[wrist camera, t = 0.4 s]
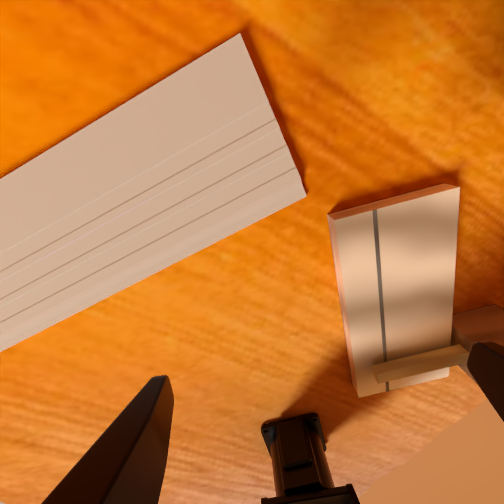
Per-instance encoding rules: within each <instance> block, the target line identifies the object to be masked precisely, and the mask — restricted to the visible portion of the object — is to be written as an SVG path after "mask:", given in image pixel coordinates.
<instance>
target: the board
mask: <svg viewBox="0 0 504 504" xmlns="http://www.w3.org/2000/svg"><path fill="white" fill-rule="evenodd" d="M459 197H460V187H458V186H454V185H449V184H444V183H443V184H439V185H435V186H432V187H428V188H424V189H421V190H417V191H413V192H409V193H406V194H402V195H398V196H394V197H391V198H387V199H383V200H379V201H376V202H372V203H368V204H365V205H361V206H357V207H353V208H350V209H346V210H342V211H338V212H335V213H331V214H327V216H328V223H329V230H330V237H331V243H332V250H333V257H334V264H335V270H336V277H337V284H338V291H339V297H340V304H341V311H342V318H343V324H344V331H345V338H346V345H347V352H348V358H349V365H350V372H351V379H352V385H353V387H354V389H355V391H356V393H357V395H358V397H359V398H360V397H364V396H369V395H373V394H377V393H381V392H385V391H386V392H387V391H390V390H394V389H398V388H402V387H406V386H411V385H415V384H419V383H423V382H427V381H432V380H436V379H440V378H444V377H448V376H449V367H447V368H443V369H438V370H434V371H430V372H426V373H422V374H417V375H413V376H409V377H405V378H401V379H397V380H392V381H388V382H384V383H380V384H378V383H377V381H376V379H375V378H374V376H373V372H372V365H376V364H380V363H384V362H388V361H392V360H396V359H401V358H405V357H409V356H413V355H417V354H421V353H425V352H429V351H434V350H438V349H442V348H446V347H450V346H451V332H452V315H453V298H454V281H455V265H456V248H457V231H458V214H459Z"/></svg>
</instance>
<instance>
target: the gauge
mask: <svg viewBox="0 0 504 504" xmlns="http://www.w3.org/2000/svg"><path fill="white" fill-rule="evenodd" d="M480 341H492V342H495V343H497V344H499V345H502V346H504V309H503V308H501V307H500V306H498V305H496V304H493V305H489V306H485V307H481V308H477V309H473V310H469V311H465V312H461V313H457V314H453V315H452V332H451V346H450V347H446V348H442V349H438V350H434V351H429V352H425V353H421V354H417V355H413V356H409V357H405V358H401V359H396V360H392V361H388V362H384V363H380V364H376V365H372V372H373V376H374V378H375V379H376V381H377V383H378V384H380V383H384V382H388V381H392V380H397V379H401V378H405V377H409V376H413V375H417V374H422V373H426V372H430V371H434V370H438V369H443V368H447V367H451V366H455V365H459V366H460V367H461V368H462V369H463V370H464V371H465V372H466V373H467V374H468V375H469V376H470V377H471V378H472V379H473V380H474V381H475V379H474V378H473V376H472V375H471V374H470V372H469V370H468V368H467V360H468V357H469V353H470V350H471V347H472V345H473V343H475V342H480ZM475 382H476V381H475ZM476 383H477V382H476Z"/></svg>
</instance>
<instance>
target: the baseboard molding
mask: <svg viewBox="0 0 504 504" xmlns="http://www.w3.org/2000/svg"><path fill="white" fill-rule="evenodd" d="M306 196H307V195H306V193H305V190H304V188H303V185H302V182H301V177H300V175H299V173H298V170H297V168H296V166H295V164H294V161H293V159H292V156H291V154H290V151H289V149H288V146H287V144H286V142H285V140H284V137H283V135H282V133H281V130H280V127H279V125H278V122H277V120H276V118H275V116H274V113H273V111H272V109H271V106H270V104H269V101H268V98H267V96H266V94H265V91H264V89H263V87H262V84H261V82H260V79H259V77H258V75H257V72H256V70H255V67H254V65H253V63H252V60H251V58H250V55H249V53H248V51H247V48H246V46H245V44H244V41H243V39H242V36H241V34H240V33H239V34H237V35H236V36H234V37H232V38H231V39H229V40H227V41H226V42H224V43H223V44H221V45H219V46H218V47H216V48H214V49H213V50H211V51H209V52H208V53H206V54H205V55H203V56H201V57H200V58H198V59H196V60H195V61H193V62H191V63H190V64H188V65H186V66H185V67H183V68H182V69H180V70H178V71H177V72H175V73H173V74H172V75H170V76H168V77H167V78H165V79H163V80H162V81H160V82H159V83H157V84H155V85H154V86H152V87H150V88H149V89H147V90H145V91H144V92H142V93H141V94H139V95H137V96H136V97H134V98H132V99H131V100H129V101H127V102H126V103H124V104H122V105H121V106H119V107H118V108H116V109H114V110H113V111H111V112H109V113H108V114H106V115H104V116H103V117H101V118H99V119H98V120H96V121H95V122H93V123H91V124H90V125H88V126H86V127H85V128H83V129H81V130H80V131H78V132H77V133H75V134H73V135H72V136H70V137H68V138H67V139H65V140H63V141H62V142H60V143H58V144H57V145H55V146H54V147H52V148H50V149H49V150H47V151H45V152H44V153H42V154H40V155H39V156H37V157H35V158H34V159H32V160H31V161H29V162H27V163H26V164H24V165H22V166H21V167H19V168H17V169H16V170H14V171H13V172H11V173H9V174H8V175H6V176H4V177H3V178H1V179H0V352H1V351H3V350H5V349H7V348H9V347H11V346H13V345H15V344H17V343H19V342H21V341H23V340H25V339H27V338H29V337H31V336H33V335H35V334H36V333H38V332H40V331H42V330H44V329H46V328H48V327H50V326H52V325H54V324H56V323H58V322H60V321H62V320H64V319H66V318H68V317H70V316H72V315H74V314H76V313H78V312H80V311H82V310H84V309H86V308H88V307H90V306H92V305H94V304H96V303H97V302H99V301H101V300H103V299H105V298H107V297H109V296H111V295H113V294H115V293H117V292H119V291H121V290H123V289H125V288H127V287H129V286H131V285H133V284H135V283H137V282H139V281H141V280H143V279H145V278H147V277H149V276H151V275H153V274H155V273H157V272H158V271H160V270H162V269H164V268H166V267H168V266H170V265H172V264H174V263H176V262H178V261H180V260H182V259H184V258H186V257H188V256H190V255H192V254H194V253H196V252H198V251H200V250H202V249H204V248H206V247H208V246H210V245H212V244H214V243H216V242H218V241H219V240H221V239H223V238H225V237H227V236H229V235H231V234H233V233H235V232H237V231H239V230H241V229H243V228H245V227H247V226H249V225H251V224H253V223H255V222H257V221H259V220H261V219H263V218H265V217H267V216H269V215H271V214H273V213H275V212H277V211H279V210H280V209H282V208H284V207H286V206H288V205H290V204H292V203H294V202H296V201H298V200H300V199H302V198H304V197H306Z"/></svg>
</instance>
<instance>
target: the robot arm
mask: <svg viewBox="0 0 504 504" xmlns="http://www.w3.org/2000/svg"><path fill="white" fill-rule="evenodd" d="M467 368H468V370H469V372H470V374H471V375H472V376H473V378H474V379H475V381H476V382H477V384H478V385H479V387H480V388H481V390H482V391H483V393H484V394H485V395H486V397H487V398H488V400H489V401H490V403H491V404H492V406H493V407H494V409H495V410H496V411H497V413H498V414H499V416H500V417H501V419H502V420H503V421H504V346H502V345H499V344H497V343H495V342H492V341H480V342H475V343H473V345H472V347H471V350H470V353H469V357H468V360H467ZM173 406H174V395H173V391H172V387H171V384H170V380H169V377H168V376H167V375H161V376H154V377H152V378H151V379H150V380H149V381H148V383H147V384H146V385H145V386H144V387H143V388H142V389H141V390H140V392H139V393H138V394H137V395H136V396H135V397H134V398H133V400H132V401H131V402H130V403H129V404H128V405H127V406H126V408H125V409H124V410H123V411H122V412H121V413H120V414H119V416H118V417H117V418H116V419H115V420H114V421H113V422H112V424H111V425H110V426H109V427H108V428H107V429H106V430H105V432H104V433H103V434H102V435H101V436H100V437H99V438H98V440H97V441H96V442H95V443H94V444H93V445H92V446H91V448H90V449H89V450H88V451H87V452H86V453H85V454H84V455H83V457H82V458H81V459H80V460H79V461H78V462H77V463H76V465H75V466H74V467H73V468H72V469H71V470H70V471H69V473H68V474H67V475H66V476H65V477H64V478H63V479H62V481H61V482H60V483H59V484H58V485H57V486H56V487H55V489H54V490H53V491H52V492H51V493H50V494H49V495H48V497H47V498H46V499H45V500H44V501H43V502H42V503H41V504H158V501H159V496H160V492H161V487H162V483H163V478H164V473H165V468H166V463H167V455H168V447H169V439H170V431H171V423H172V414H173ZM261 433H262V436H263V438H264V441H265V443H266V446H267V449H268V451H269V454H270V456H271V459H272V466H273V474H274V482H275V491H276V497H273V498H267V497H266V498H261V504H360V502H359V500H358V498H357V495H356V493H355V490H354V488H353V486H352V484H346V486H341V487H334V483H333V480H332V476H331V473H330V470H329V466H328V463H327V459H326V456H325V451H326V445H325V441H324V437H323V433H322V428H321V424H320V420H319V416H318V414H316V413H312V414H308V415H304V416H300V417H296V418H291V419H287V420H283V421H279V422H275V423H270V424H266V425H263V426H262V427H261Z"/></svg>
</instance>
